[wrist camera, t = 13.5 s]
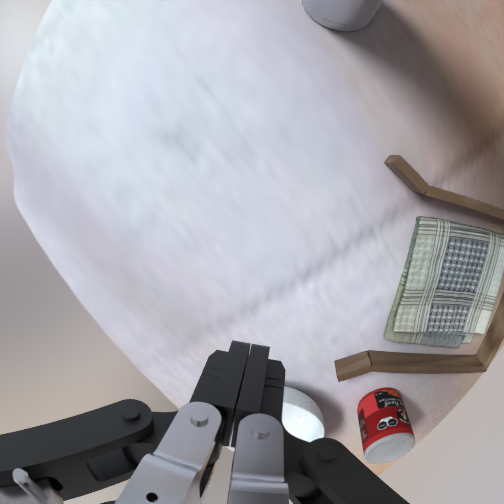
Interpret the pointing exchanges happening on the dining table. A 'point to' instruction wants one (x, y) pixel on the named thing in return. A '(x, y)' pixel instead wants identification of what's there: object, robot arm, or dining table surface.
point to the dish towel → (446, 284)
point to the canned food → (384, 426)
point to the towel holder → (429, 363)
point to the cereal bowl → (300, 416)
